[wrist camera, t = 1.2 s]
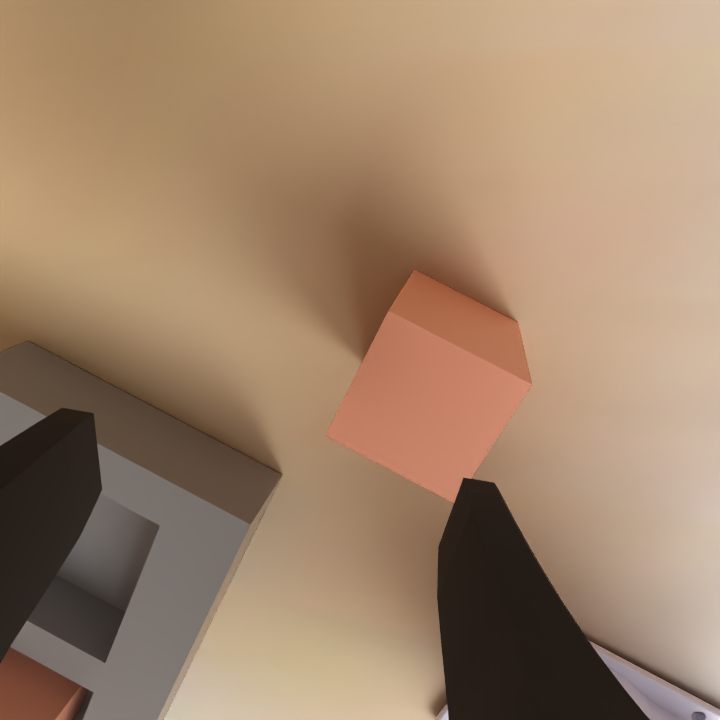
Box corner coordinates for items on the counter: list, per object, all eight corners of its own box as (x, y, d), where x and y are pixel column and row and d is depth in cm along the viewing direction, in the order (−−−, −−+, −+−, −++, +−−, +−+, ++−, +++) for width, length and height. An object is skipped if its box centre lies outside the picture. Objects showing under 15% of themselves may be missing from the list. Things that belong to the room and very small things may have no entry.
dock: (282, 474, 24) (206, 593, 17) (136, 775, 32) (47, 932, 25) (27, 341, 24) (-142, 407, 17) (-52, 672, 32) (-187, 801, 26)
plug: (517, 322, 20) (532, 384, 14) (461, 414, 21) (454, 503, 16) (414, 269, 20) (388, 310, 14) (365, 364, 21) (325, 435, 16)
